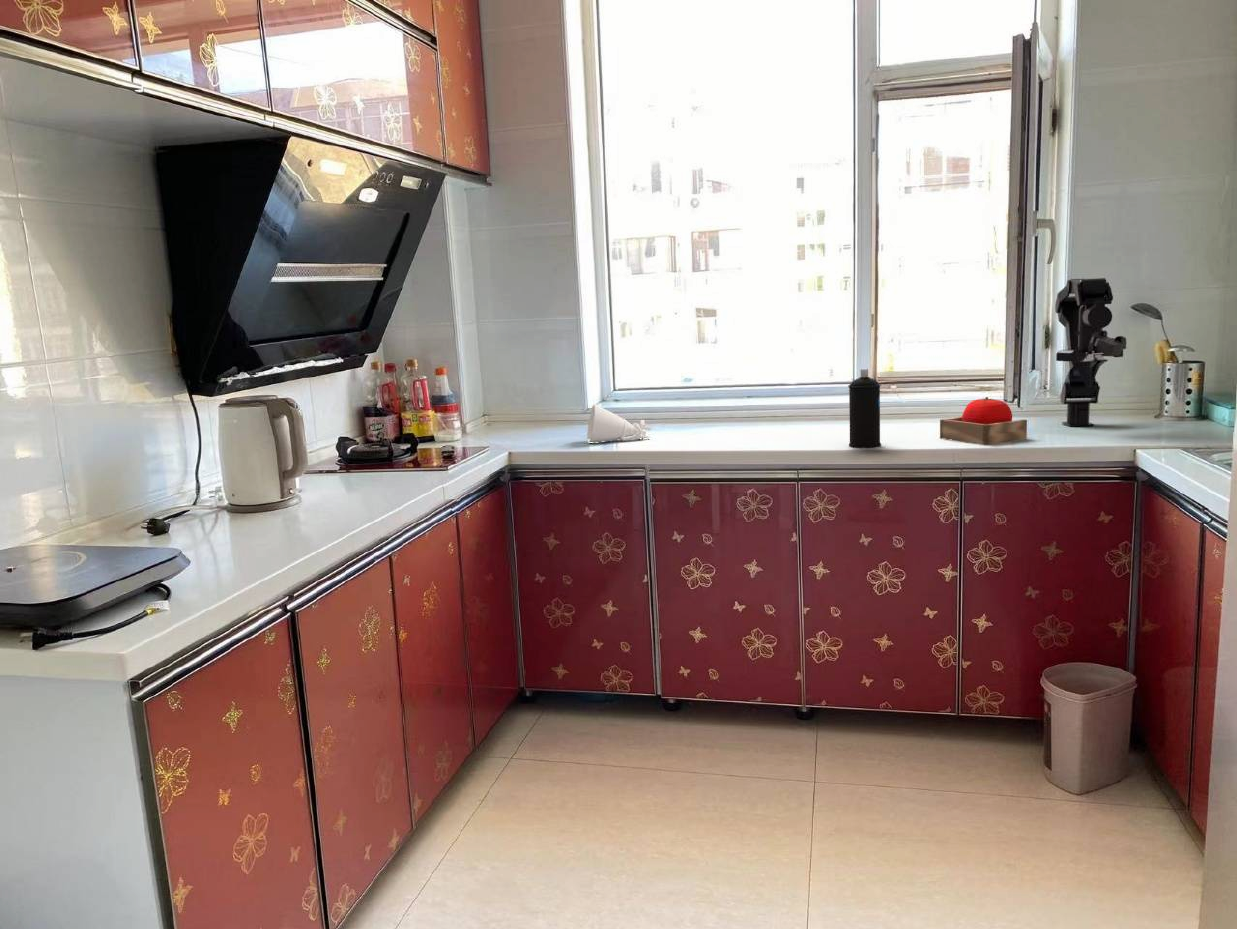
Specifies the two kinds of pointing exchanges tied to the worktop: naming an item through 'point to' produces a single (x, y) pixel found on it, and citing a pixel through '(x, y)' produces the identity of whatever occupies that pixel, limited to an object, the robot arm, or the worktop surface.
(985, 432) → the tray
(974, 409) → the tomato
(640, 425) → the rocket engine
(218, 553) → the worktop surface
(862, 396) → the aerosol can
